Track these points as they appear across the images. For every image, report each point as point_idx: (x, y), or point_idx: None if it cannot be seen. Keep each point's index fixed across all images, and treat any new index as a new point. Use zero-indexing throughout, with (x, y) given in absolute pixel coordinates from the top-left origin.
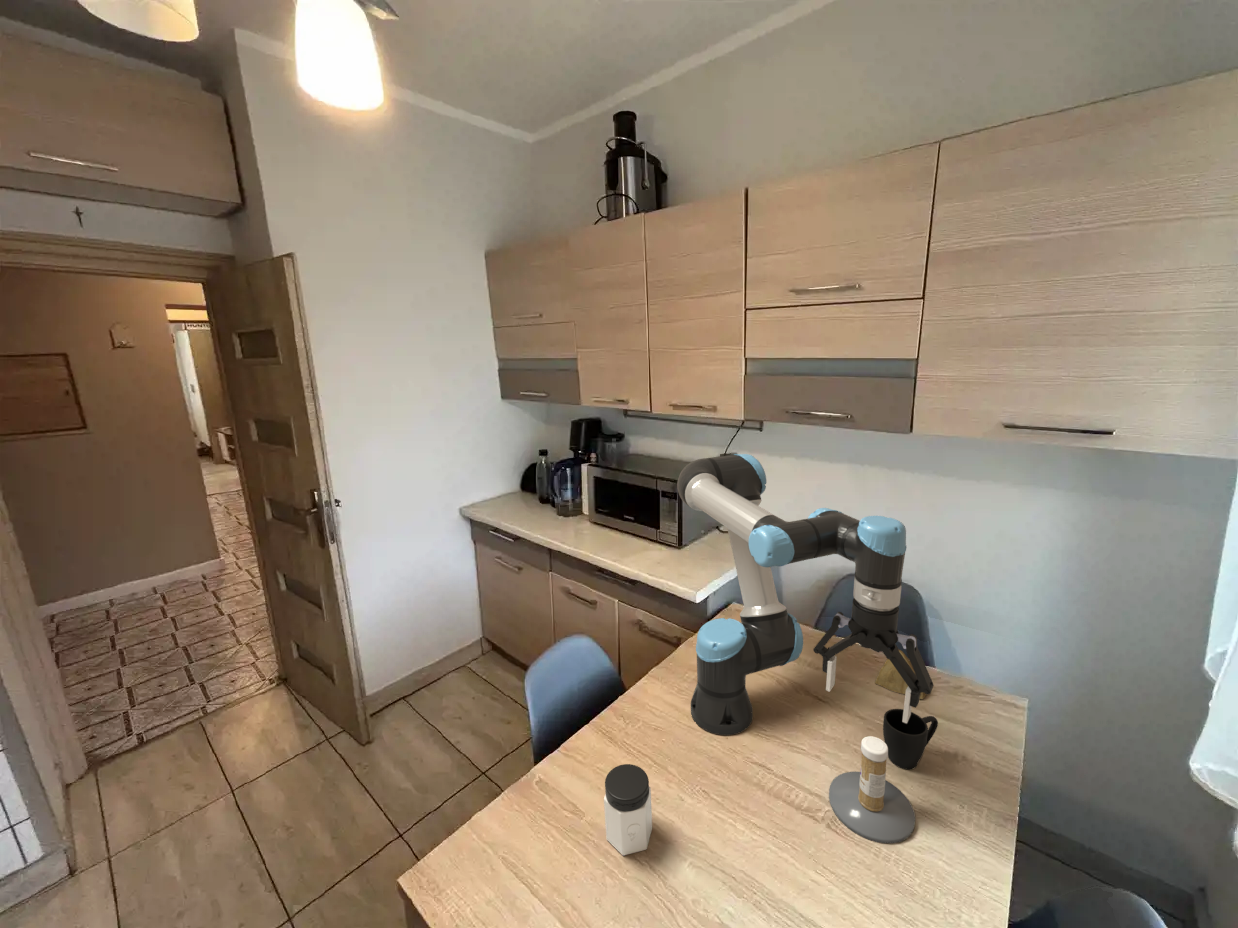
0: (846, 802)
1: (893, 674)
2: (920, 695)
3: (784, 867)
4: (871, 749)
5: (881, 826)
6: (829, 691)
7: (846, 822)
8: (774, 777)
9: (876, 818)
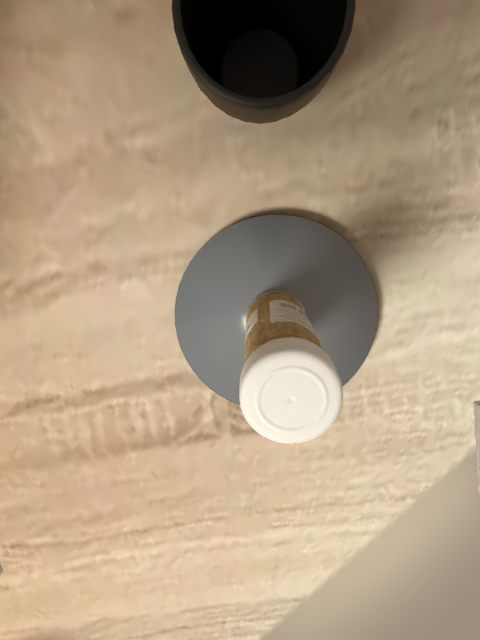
0: (235, 363)
1: None
2: None
3: (229, 559)
4: (295, 435)
5: None
6: (1, 572)
7: None
8: (76, 410)
9: None
